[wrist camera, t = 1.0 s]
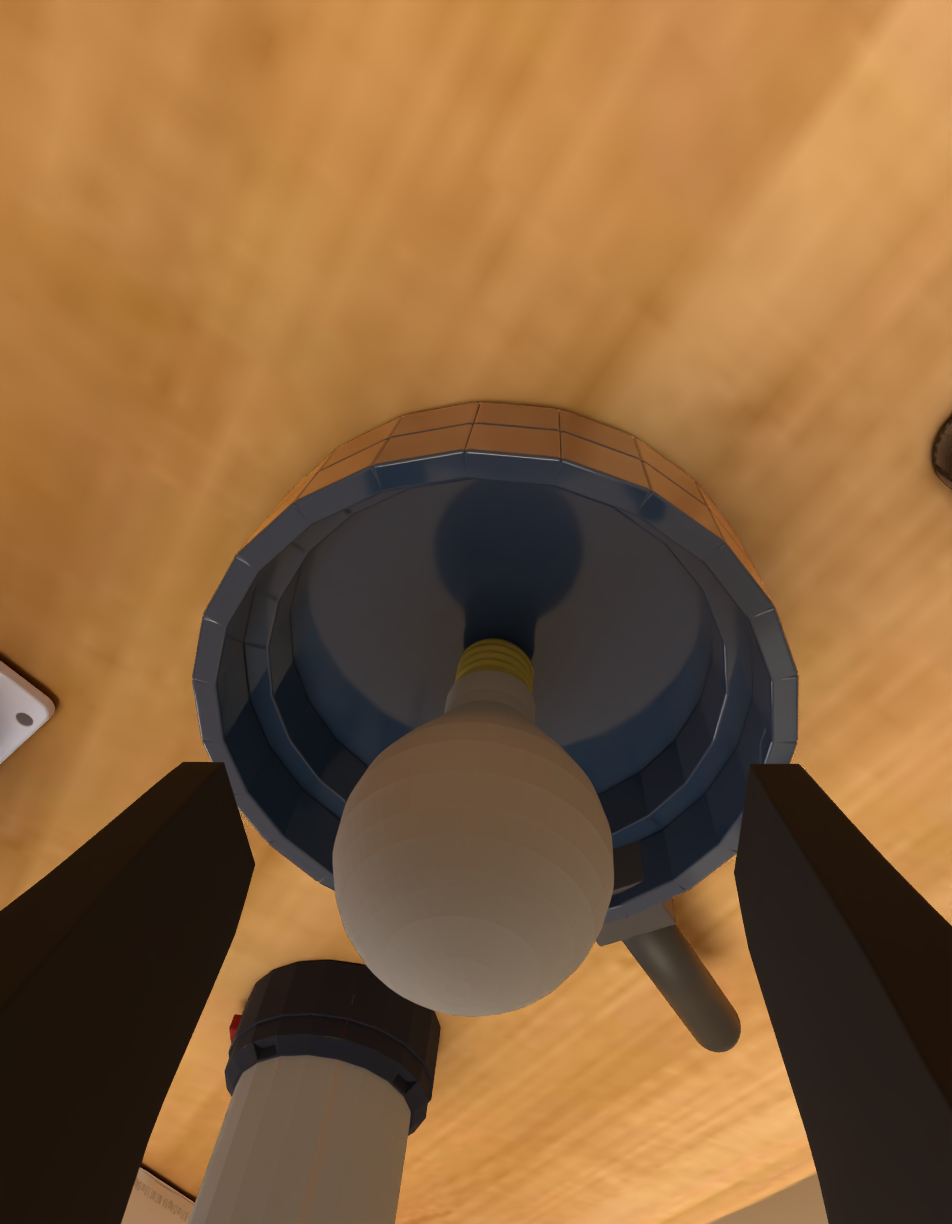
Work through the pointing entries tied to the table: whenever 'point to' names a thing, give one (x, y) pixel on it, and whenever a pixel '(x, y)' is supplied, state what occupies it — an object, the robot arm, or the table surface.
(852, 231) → the table surface
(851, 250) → the table surface
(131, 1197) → the tea box
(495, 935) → the light bulb
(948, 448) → the phone
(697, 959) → the pan handle
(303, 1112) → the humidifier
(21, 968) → the robot arm
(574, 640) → the pan
